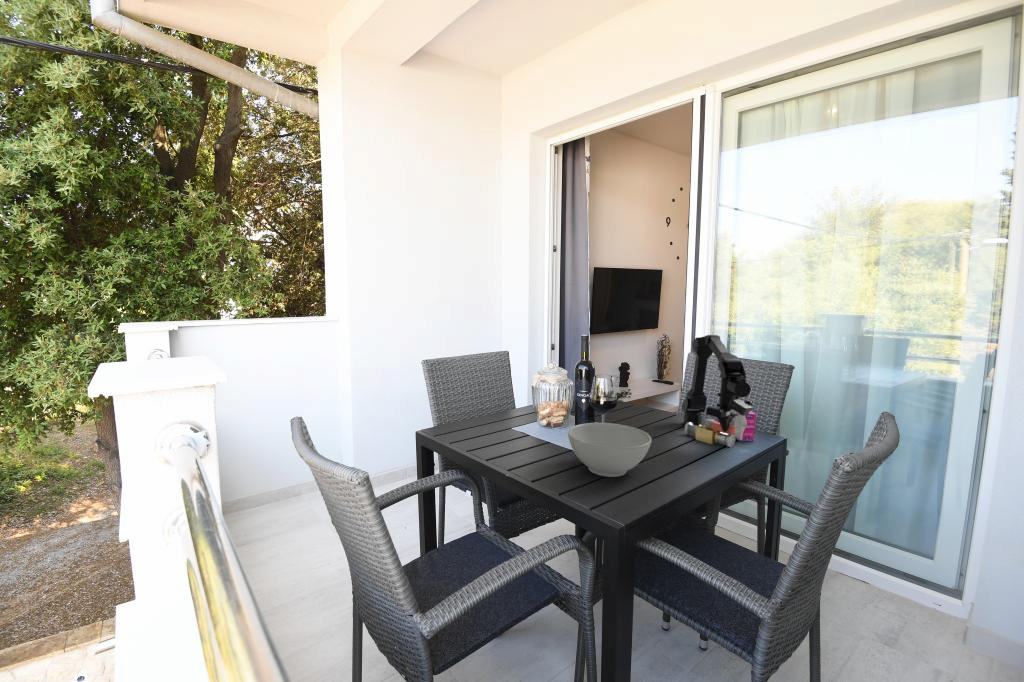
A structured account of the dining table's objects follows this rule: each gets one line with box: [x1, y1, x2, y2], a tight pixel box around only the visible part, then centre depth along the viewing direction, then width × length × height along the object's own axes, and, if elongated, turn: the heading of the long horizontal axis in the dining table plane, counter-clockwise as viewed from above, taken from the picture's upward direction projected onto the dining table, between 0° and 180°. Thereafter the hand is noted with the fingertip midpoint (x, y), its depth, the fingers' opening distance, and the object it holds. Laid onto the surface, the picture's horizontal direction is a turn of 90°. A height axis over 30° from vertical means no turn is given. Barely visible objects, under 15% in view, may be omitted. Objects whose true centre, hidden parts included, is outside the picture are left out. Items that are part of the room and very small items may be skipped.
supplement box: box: [733, 410, 757, 442], centre depth 197 cm, size 6×6×12 cm
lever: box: [704, 418, 736, 435], centre depth 190 cm, size 13×4×3 cm, turn 32°
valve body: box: [683, 422, 736, 448], centre depth 194 cm, size 19×7×5 cm, turn 36°
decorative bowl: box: [567, 422, 652, 478], centre depth 160 cm, size 27×27×12 cm
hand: (724, 431), depth 185 cm, fingers closed
